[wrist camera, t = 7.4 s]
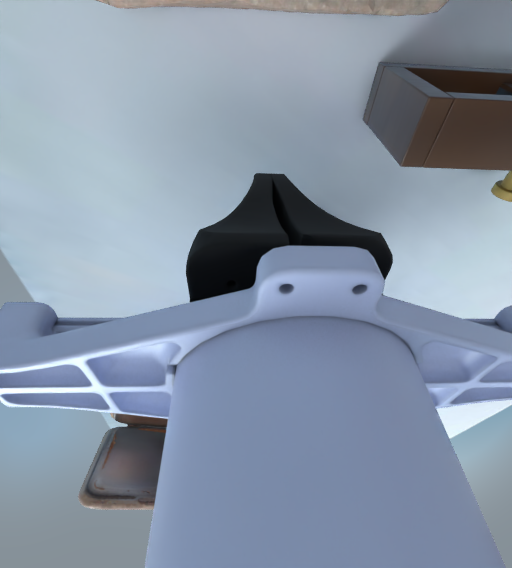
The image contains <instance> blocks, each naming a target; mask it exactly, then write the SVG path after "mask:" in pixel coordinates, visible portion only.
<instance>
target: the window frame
mask: <svg viewBox="0 0 512 568" xmlns="http://www.w3.org/2000/svg"><path fill="white" fill-rule="evenodd" d="M363 121H364V122H365V123H366V124H367V125H368V126H369V128H370V129H371V130H372V131H373V133H374V134H375V135H376V136H377V138H378V139H379V140H380V141H381V143H382V144H383V145H384V146H385V148H386V149H387V150H388V151H389V153H390V154H391V155H392V156H393V157H394V159H395V160H396V161H397V162H398V164H399V165H400V166H403V167H424V168H453V169H481V170H509V171H512V70H501V69H484V68H467V67H450V66H432V65H415V64H398V63H381V62H380V63H379V65H378V68H377V72H376V75H375V79H374V82H373V86H372V89H371V93H370V96H369V100H368V103H367V107H366V110H365V114H364V117H363Z"/></svg>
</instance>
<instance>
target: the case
mask: <svg viewBox="0 0 512 568" xmlns="http://www.w3.org/2000/svg"><path fill="white" fill-rule="evenodd" d="M111 417H112V418H114V419H115V420H116V421H118V422H121V423H125V424H128V426H127V427H116V428H112V429H110V430H108V431H107V432H106V433H105V435H104V437H103V439H102V442H101V444H100V446H99V448H98V451H97V453H96V455H95V457H94V460H93V462H92V464H91V466H90V469H89V471H88V474H87V476H86V478H85V480H84V483H83V485H82V487H81V490H80V492H79V501H80V503H81V504H82V505H83V506H85V507H87V508H91V509H105V510H106V509H107V510H108V509H114V510H115V509H117V510H120V509H123V510H124V509H125V510H126V509H128V510H135V509H137V510H138V509H139V510H140V509H141V510H154V504H155V498H156V492H157V485H158V479H159V473H160V466H161V460H162V454H163V448H164V441H165V435H166V429H167V423H168V419H166V418H156V417H147V416H137V415H128V414H118V413H111Z"/></svg>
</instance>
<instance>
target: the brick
mask: <svg viewBox="0 0 512 568" xmlns="http://www.w3.org/2000/svg"><path fill="white" fill-rule="evenodd" d="M96 1H100V2H103V3H106V4H108V5H111V6H114V7H117V8H146V7H215V8H232V9H258V10H269V11H284V12H301V13H324V14H372V15H389V16H402V15H424V14H429V13H434V12H438V11H439V10H440V9H441V8H442V7H443V6H444V5H445V4H446V3H447V1H448V0H96Z"/></svg>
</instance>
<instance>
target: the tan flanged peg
mask: <svg viewBox="0 0 512 568" xmlns="http://www.w3.org/2000/svg"><path fill="white" fill-rule="evenodd" d="M491 192H492V193H493V194H494V195H495V196H496V197H498V198H500V199H503V200H506V201H510V202H512V171H509V173H508V174H507V176H506V177H505V178H504V180H501V181H497V182H496V183H495V185H494V186H493V188H492V189H491Z"/></svg>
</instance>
